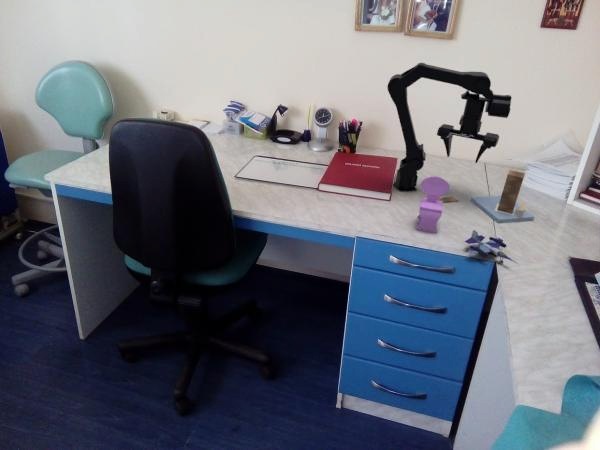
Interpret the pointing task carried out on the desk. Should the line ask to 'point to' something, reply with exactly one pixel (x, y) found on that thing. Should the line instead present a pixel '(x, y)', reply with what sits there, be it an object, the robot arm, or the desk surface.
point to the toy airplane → (487, 246)
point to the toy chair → (431, 203)
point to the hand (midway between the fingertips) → (462, 159)
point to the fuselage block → (510, 191)
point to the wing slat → (447, 199)
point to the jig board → (491, 205)
